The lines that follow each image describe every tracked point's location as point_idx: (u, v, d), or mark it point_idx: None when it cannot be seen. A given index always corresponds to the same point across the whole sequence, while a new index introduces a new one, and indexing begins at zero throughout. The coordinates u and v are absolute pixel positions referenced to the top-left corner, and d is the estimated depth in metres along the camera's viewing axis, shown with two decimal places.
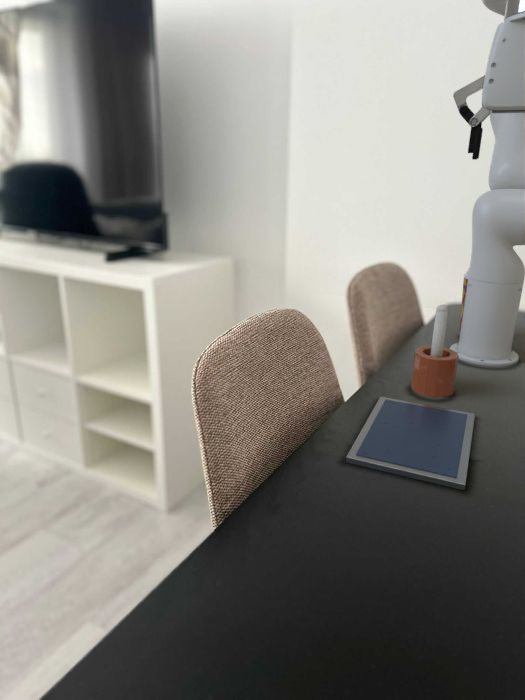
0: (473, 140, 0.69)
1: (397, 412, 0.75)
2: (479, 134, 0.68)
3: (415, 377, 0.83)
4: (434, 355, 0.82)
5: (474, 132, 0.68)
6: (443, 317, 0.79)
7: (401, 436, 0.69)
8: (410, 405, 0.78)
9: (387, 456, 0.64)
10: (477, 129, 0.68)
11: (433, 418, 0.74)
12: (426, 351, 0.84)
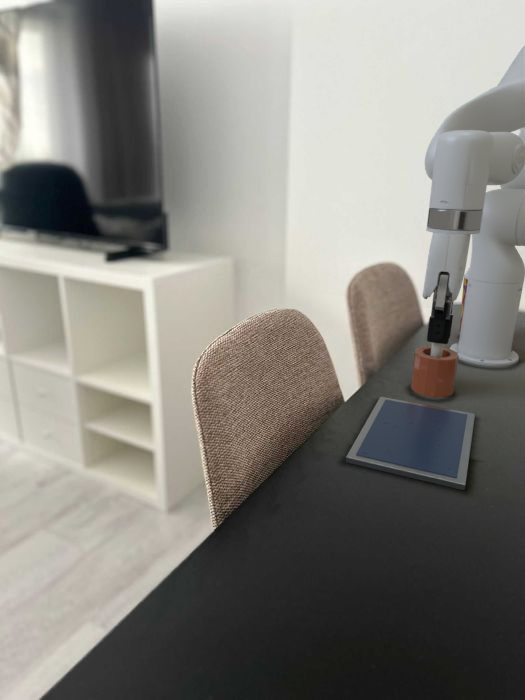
0: (444, 329, 0.79)
1: (397, 412, 0.75)
2: None
3: (415, 377, 0.83)
4: (434, 355, 0.82)
5: (445, 323, 0.79)
6: None
7: (401, 436, 0.69)
8: (410, 405, 0.78)
9: (387, 456, 0.64)
10: (451, 321, 0.79)
11: (433, 418, 0.74)
12: (426, 351, 0.84)
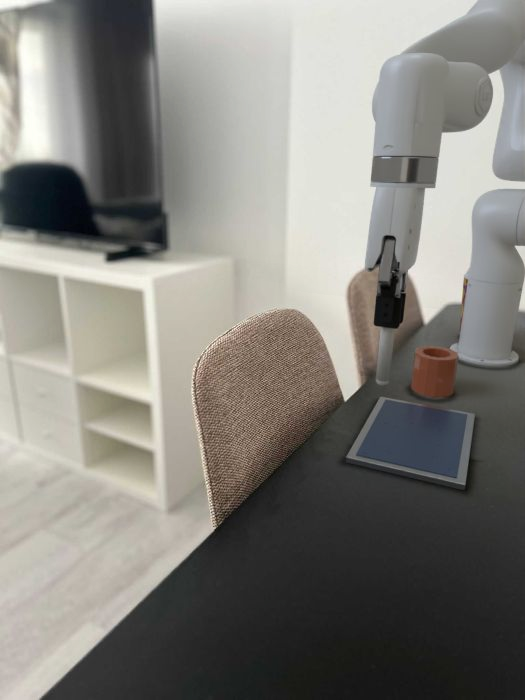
0: (393, 310, 0.64)
1: (397, 412, 0.75)
2: (401, 304, 0.64)
3: (415, 377, 0.83)
4: (383, 342, 0.67)
5: (394, 302, 0.64)
6: None
7: (401, 436, 0.69)
8: (410, 405, 0.78)
9: (387, 456, 0.64)
10: (401, 300, 0.63)
11: (433, 418, 0.74)
12: (426, 351, 0.84)
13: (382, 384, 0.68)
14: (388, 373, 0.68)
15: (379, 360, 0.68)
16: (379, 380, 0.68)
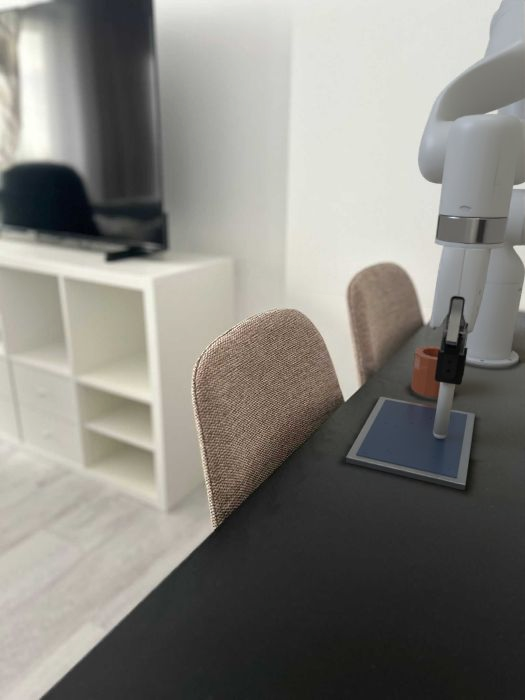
0: (456, 367, 0.63)
1: (397, 412, 0.75)
2: None
3: (415, 377, 0.83)
4: (443, 397, 0.66)
5: (457, 359, 0.62)
6: None
7: (401, 436, 0.69)
8: (410, 405, 0.78)
9: (387, 456, 0.64)
10: (465, 357, 0.62)
11: (433, 418, 0.74)
12: (426, 351, 0.84)
13: (440, 438, 0.67)
14: (446, 427, 0.67)
15: (438, 414, 0.67)
16: (437, 434, 0.67)
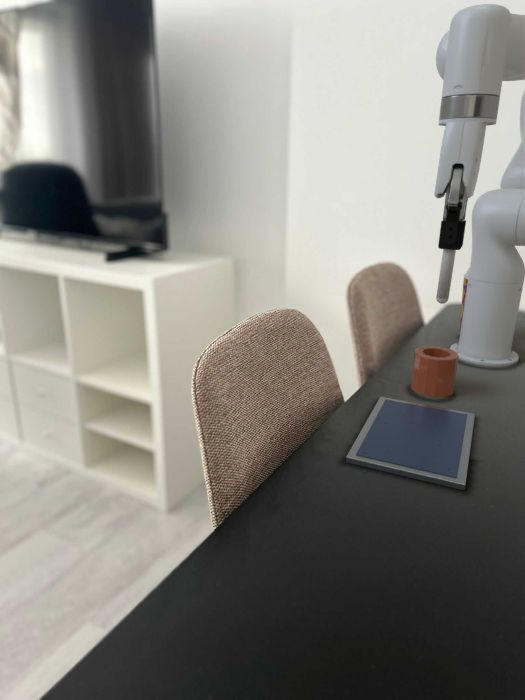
0: (457, 233, 0.74)
1: (397, 412, 0.75)
2: (463, 228, 0.74)
3: (415, 377, 0.83)
4: (445, 264, 0.77)
5: (458, 226, 0.74)
6: None
7: (401, 436, 0.69)
8: (410, 405, 0.78)
9: (387, 456, 0.64)
10: (464, 224, 0.74)
11: (433, 418, 0.74)
12: (426, 351, 0.84)
13: (442, 301, 0.79)
14: (448, 291, 0.78)
15: (440, 280, 0.78)
16: (440, 298, 0.79)
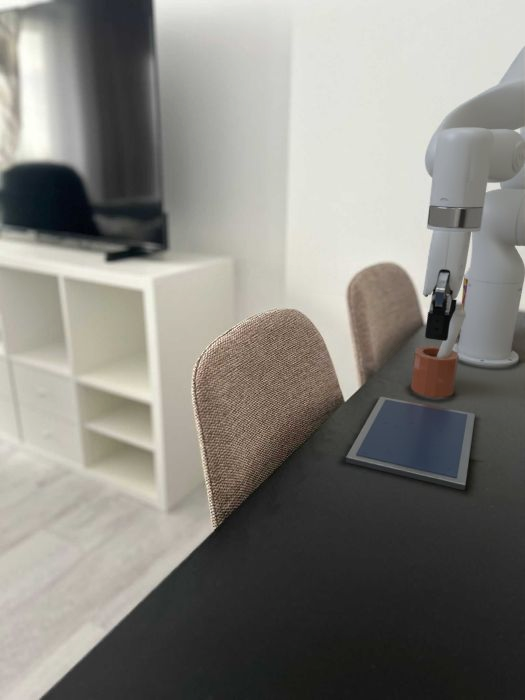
0: (443, 325, 0.75)
1: (397, 412, 0.75)
2: (449, 320, 0.75)
3: (415, 377, 0.83)
4: None
5: (444, 319, 0.75)
6: (459, 322, 0.78)
7: (401, 436, 0.69)
8: (410, 405, 0.78)
9: (387, 456, 0.64)
10: (450, 317, 0.75)
11: (433, 418, 0.74)
12: (426, 351, 0.84)
13: None
14: None
15: None
16: None
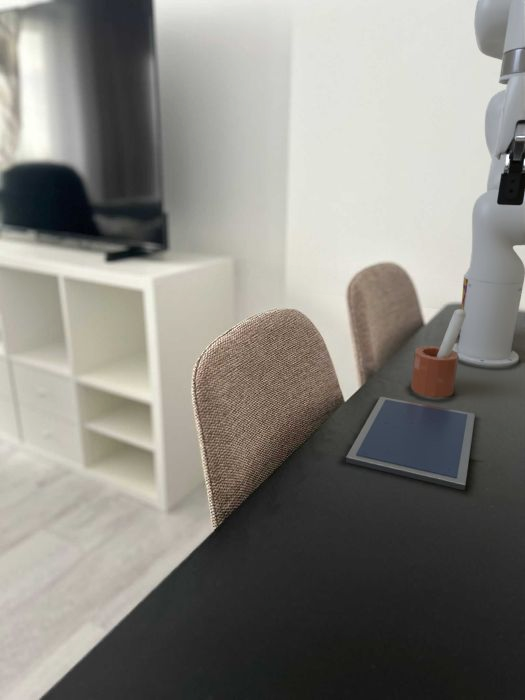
0: (519, 187, 0.68)
1: (397, 412, 0.75)
2: None
3: (415, 377, 0.83)
4: None
5: (520, 179, 0.67)
6: (459, 322, 0.78)
7: (401, 436, 0.69)
8: (410, 405, 0.78)
9: (387, 456, 0.64)
10: None
11: (433, 418, 0.74)
12: (426, 351, 0.84)
13: None
14: None
15: None
16: None
